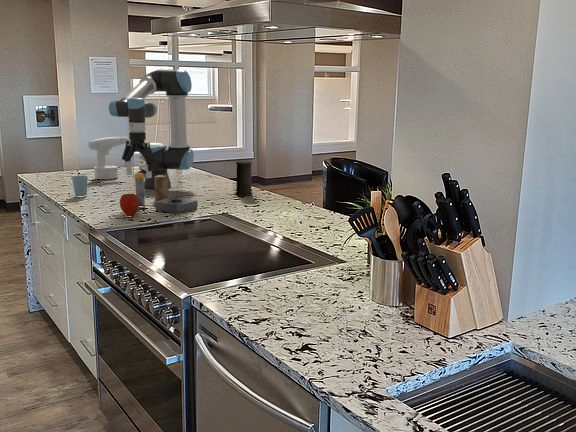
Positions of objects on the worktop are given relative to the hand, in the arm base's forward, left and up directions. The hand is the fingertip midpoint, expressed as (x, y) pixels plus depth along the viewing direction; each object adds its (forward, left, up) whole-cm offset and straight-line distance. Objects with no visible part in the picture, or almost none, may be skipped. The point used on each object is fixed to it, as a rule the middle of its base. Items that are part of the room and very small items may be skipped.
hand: (139, 176), depth 272 cm
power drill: (-72, +42, -15) cm, 85 cm away
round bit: (0, 0, -15) cm, 15 cm away
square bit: (-4, +18, -15) cm, 24 cm away
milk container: (-71, +75, -15) cm, 105 cm away
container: (+22, +53, -15) cm, 60 cm away
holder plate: (+18, +6, -15) cm, 24 cm away
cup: (-41, -3, -15) cm, 44 cm away
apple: (+12, -17, -15) cm, 25 cm away
